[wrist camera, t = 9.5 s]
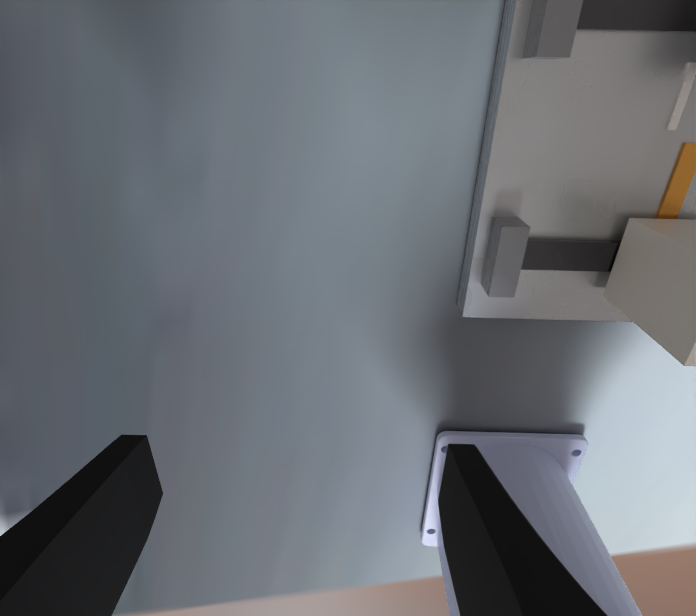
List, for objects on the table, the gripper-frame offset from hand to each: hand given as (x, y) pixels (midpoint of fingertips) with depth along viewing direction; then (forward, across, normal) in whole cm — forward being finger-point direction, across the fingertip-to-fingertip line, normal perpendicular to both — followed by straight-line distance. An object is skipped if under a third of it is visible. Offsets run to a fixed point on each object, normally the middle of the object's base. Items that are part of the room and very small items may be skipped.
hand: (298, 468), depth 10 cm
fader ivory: (+8, -13, -3) cm, 16 cm away
